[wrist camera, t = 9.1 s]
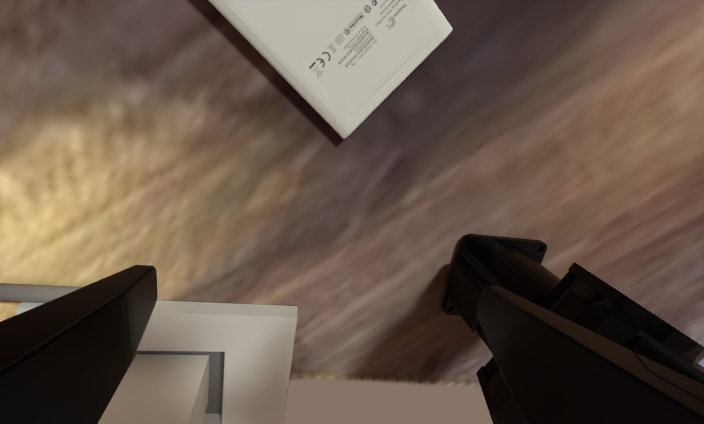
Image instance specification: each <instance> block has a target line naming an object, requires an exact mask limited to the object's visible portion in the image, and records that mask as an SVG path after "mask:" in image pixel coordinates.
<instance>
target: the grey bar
mask: <svg viewBox="0 0 704 424" xmlns="http://www.w3.org/2000/svg"><path fill="white" fill-rule="evenodd" d="M80 288H82V287H70V286H49V285H27V284H6V283H0V301H8V302H34V303H47V302H49V301H51V300H54V299H56V298H58V297H61V296H63V295H66V294H68V293H70V292H73V291H75V290H77V289H80Z"/></svg>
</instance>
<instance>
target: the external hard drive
mask: <svg viewBox="0 0 704 424" xmlns="http://www.w3.org/2000/svg"><path fill="white" fill-rule="evenodd" d="M208 1H209V2H210V3H211V4H212V5H213V6H214V7H215V8H216V9H217V10H218V11H219V12H220V13H221V14H222V15H223V16H224V17H225V18H226V19H227V20H228V21H229V22H230V23H231V24H232V25H233V26H234V27H235V28H236V29H237V30H238V31H239V32H240V33H241V34H242V35H243V36H244V37H245V39H246V40H247V41H248V42H249V43H250V44H251V45H252V46H253V47H254V48H255V49H256V50H257V51H258V52H259V53H260V54H261V55H262V56H263V57H264V58H265V59H266V60H267V61H268V62H269V63H270V64H271V65H272V66H273V67H274V68H275V69H276V70H277V71H278V72H279V73H280V74H281V76H282V77H283V78H284V79H285V80H286V81H287V82H288V83H289V84H290V85H291V86H292V87H293V88H294V89H295V90H296V91H297V92H298V93H299V94H300V95H301V96H302V97H303V98H304V99H305V100H306V101H307V102H308V103H309V104H310V105H311V106H312V107H313V108H314V109H315V110H316V111H317V112H318V113H319V114H320V115H321V117H322V118H323V119H324V120H325V121H326V122H327V123H329V125H330V126H331V127H332V128H333V129H334V130H335V131H336V132H337V133H338V134H339V135H340V136H341V137H342V138H343V139H345V138H346V137H348V136H349V135H350V134H351V133H352V132H353V131H354V130H355V129H356V128H357V127H358V126H359V125H360V124H361V123H362V122H363V121H364V120H365V119H366V118H367V117H368V116H369V115H370V113H371V112H372V111H373V110H374V109H375V108H376V107H377V106H378V105H379V104H380V103H381V102H382V101H383V100H384V99H385V98H386V97H387V96H388V95H389V94H390V93H391V92H392V91H393V90H394V89H395V88H396V87H397V86H398V85H399V84H400V83H401V82H402V81H403V80H404V79H405V78H406V77H407V76H408V75H409V74H410V73H411V72H412V71H413V70H414V69H415V68H416V67H417V66H418V65H419V64H420V63H421V62H422V61H423V60H424V59H425V58H426V57H427V56H428V55H429V54H430V53H431V52H432V51H433V50H434V49H435V48H436V47H437V46H438V45H439V44H440V43H441V42H442V41H443V40H444V39H445V38H446V37H447V36H448V35H449V34H450V33H451V31H452V30H453V29H452V27H451V26H450V24H449V23H448V21H447V20H446V18H445V17H444V15H443V14H442V13H441V11H440V10H439V8H438V7H437V5H436V4H435V2H434V1H433V0H208Z"/></svg>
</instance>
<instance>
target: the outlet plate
mask: <svg viewBox="0 0 704 424" xmlns="http://www.w3.org/2000/svg"><path fill="white" fill-rule="evenodd" d="M42 304H44V303H34V302H21V303H20V304H19V305H18V306H16V307H15V310H16V315H18V314H20V313H23V312H25V311H27V310H30V309H32V308H35V307H37V306H39V305H42ZM296 324H297V306H279V305H255V304H230V303H206V302H182V301H158V300H157V301H156V305H155V307H154V310H153V312H152V314H151V317H150V319H149V322H148V324H147V327H146V329H145V332H144V334H143V336H142V339H141V341H140V344H139V346H138V349H137V351H136V353H135V356H134V358H135V357H136V355H137V354H154V355H209V393H208V406H207V410H206V413H205V417H204V421H203V424H283V422H284V415H285V407H286V399H287V392H288V384H289V377H290V369H291V362H292V354H293V346H294V339H295V331H296ZM134 358H133V360H134ZM133 360H132V362H133ZM132 362H131V363H132ZM130 365H131V364H130ZM129 367H130V366H129ZM128 369H129V368H128Z"/></svg>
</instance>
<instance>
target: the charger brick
mask: <svg viewBox="0 0 704 424" xmlns="http://www.w3.org/2000/svg"><path fill="white" fill-rule="evenodd" d="M208 393H209V355H154V354H137V355H136V357H135V358H134V360H133V362H132V363H131V365H130V367H129V369H128V370H127V372H126V374H125V375H124V377H123V379H122V381H121V383H120V384H119V386H118V388H117V390H116V392H115V394H114V395H113V397H112V399H111V401H110V403H109V404H108V406H107V408H106V410H105V412H104V413H103V415H102V417H101V419H100V421H99V422H98V424H203V421H204V417H205V413H206V410H207V406H208Z"/></svg>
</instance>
